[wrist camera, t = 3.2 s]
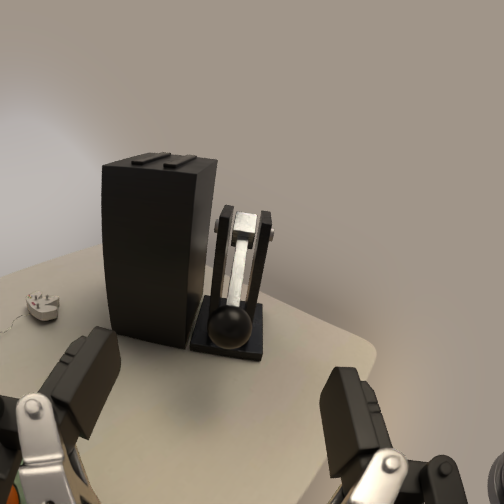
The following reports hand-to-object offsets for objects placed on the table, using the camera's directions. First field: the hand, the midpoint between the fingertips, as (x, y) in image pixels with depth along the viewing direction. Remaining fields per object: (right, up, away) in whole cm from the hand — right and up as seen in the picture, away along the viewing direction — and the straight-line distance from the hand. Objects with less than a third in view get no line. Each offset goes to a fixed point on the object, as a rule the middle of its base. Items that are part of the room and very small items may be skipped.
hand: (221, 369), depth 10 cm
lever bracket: (-2, -5, +25) cm, 26 cm away
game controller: (-27, -5, +17) cm, 33 cm away
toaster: (-11, -4, +26) cm, 28 cm away
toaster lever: (0, +1, +18) cm, 18 cm away
